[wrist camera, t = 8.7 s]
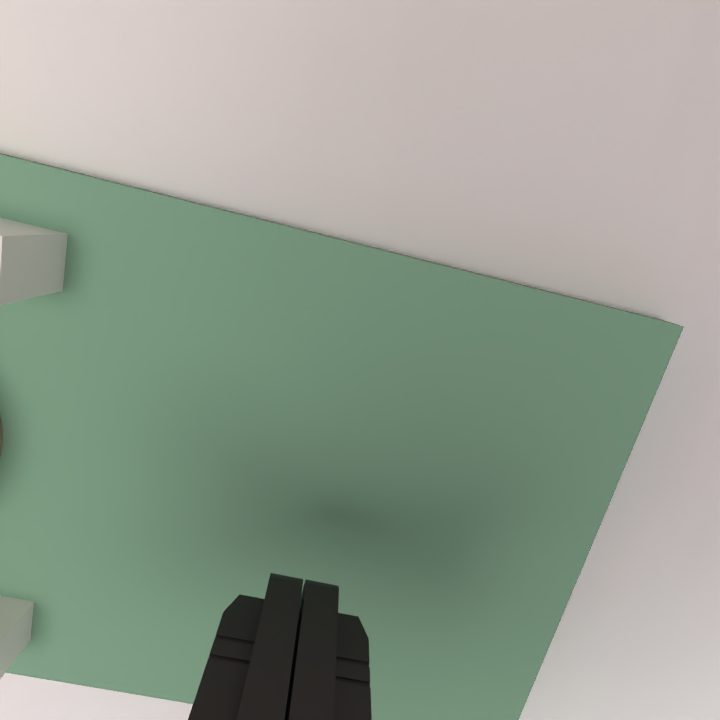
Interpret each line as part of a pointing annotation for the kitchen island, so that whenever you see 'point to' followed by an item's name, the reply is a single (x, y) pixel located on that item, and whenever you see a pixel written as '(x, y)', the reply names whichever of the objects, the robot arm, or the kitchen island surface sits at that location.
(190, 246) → the putting green
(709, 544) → the kitchen island surface
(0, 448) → the puck
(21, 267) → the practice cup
